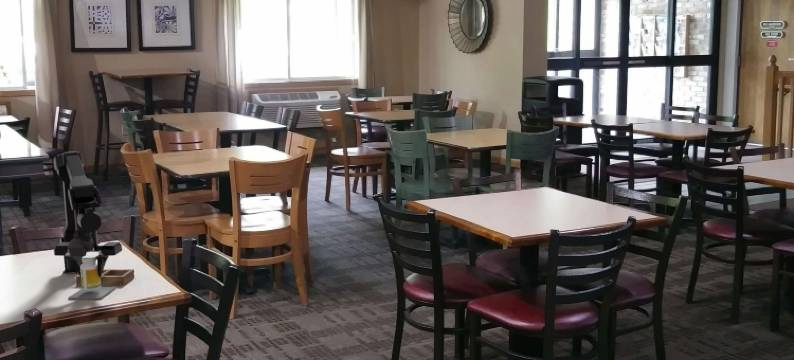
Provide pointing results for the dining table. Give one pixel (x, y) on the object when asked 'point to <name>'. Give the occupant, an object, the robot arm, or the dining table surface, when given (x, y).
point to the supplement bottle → (89, 273)
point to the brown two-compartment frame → (113, 277)
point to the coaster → (92, 293)
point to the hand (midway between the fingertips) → (90, 276)
